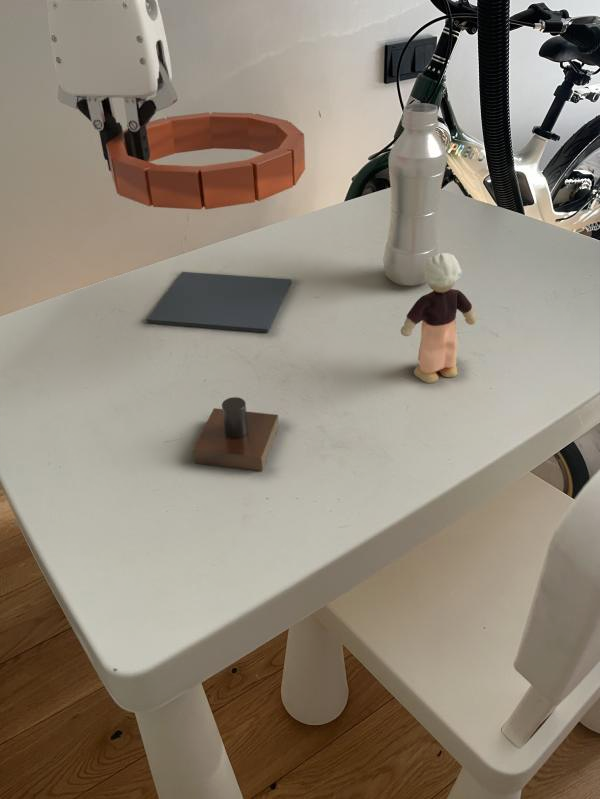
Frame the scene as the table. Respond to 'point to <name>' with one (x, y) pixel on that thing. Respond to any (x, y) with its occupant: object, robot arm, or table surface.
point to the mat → (221, 302)
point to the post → (236, 437)
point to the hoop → (210, 181)
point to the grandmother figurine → (438, 318)
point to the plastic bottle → (414, 195)
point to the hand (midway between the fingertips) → (128, 166)
